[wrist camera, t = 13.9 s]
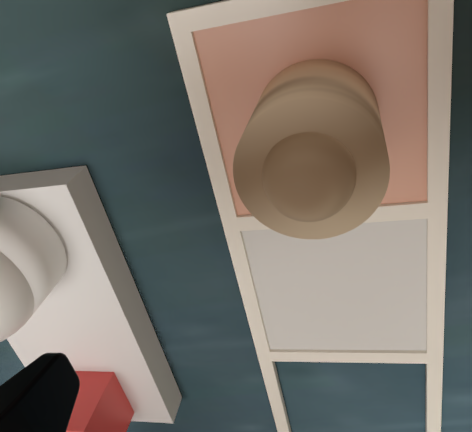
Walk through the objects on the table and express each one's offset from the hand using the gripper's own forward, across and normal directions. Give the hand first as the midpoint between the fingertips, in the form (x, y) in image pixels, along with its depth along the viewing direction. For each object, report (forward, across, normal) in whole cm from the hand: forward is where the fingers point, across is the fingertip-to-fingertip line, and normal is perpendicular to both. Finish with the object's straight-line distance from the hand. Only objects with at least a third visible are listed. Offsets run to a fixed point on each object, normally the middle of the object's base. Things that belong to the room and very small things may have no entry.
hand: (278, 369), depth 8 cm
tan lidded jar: (+13, 0, 0) cm, 13 cm away
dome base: (+13, +16, +10) cm, 23 cm away
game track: (+13, 0, +9) cm, 16 cm away
